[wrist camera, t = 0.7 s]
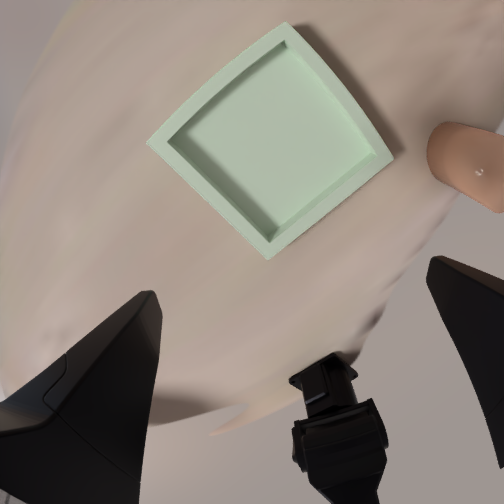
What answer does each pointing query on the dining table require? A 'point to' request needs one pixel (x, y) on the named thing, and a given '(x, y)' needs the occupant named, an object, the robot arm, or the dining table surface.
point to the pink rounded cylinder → (469, 162)
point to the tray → (272, 141)
